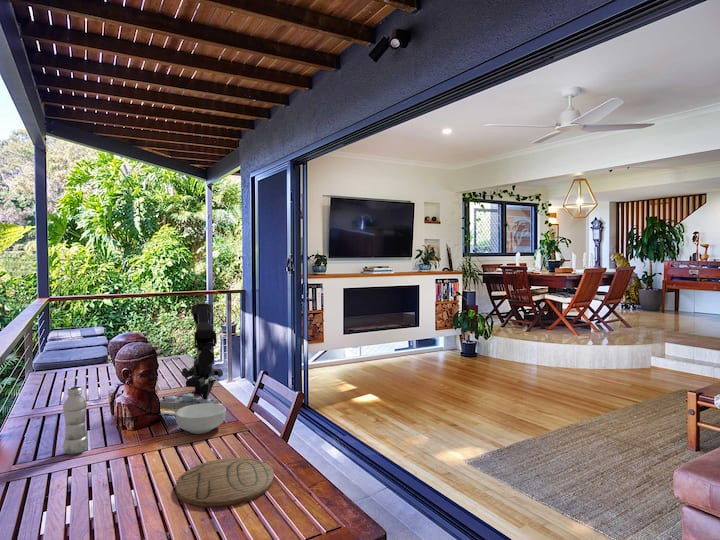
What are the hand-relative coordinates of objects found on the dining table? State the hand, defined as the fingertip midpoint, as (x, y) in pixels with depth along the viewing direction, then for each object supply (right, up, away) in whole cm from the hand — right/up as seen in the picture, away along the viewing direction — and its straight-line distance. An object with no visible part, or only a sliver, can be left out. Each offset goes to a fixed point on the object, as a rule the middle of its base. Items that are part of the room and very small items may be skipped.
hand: (205, 399), depth 185 cm
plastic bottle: (-27, -5, -41) cm, 49 cm away
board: (-8, -4, 0) cm, 9 cm away
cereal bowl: (+6, -5, -21) cm, 23 cm away
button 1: (-15, -3, +3) cm, 15 cm away
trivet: (+26, -6, -61) cm, 66 cm away
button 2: (-7, -2, +1) cm, 8 cm away
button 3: (0, -3, 0) cm, 3 cm away
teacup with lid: (-30, -4, +15) cm, 34 cm away
